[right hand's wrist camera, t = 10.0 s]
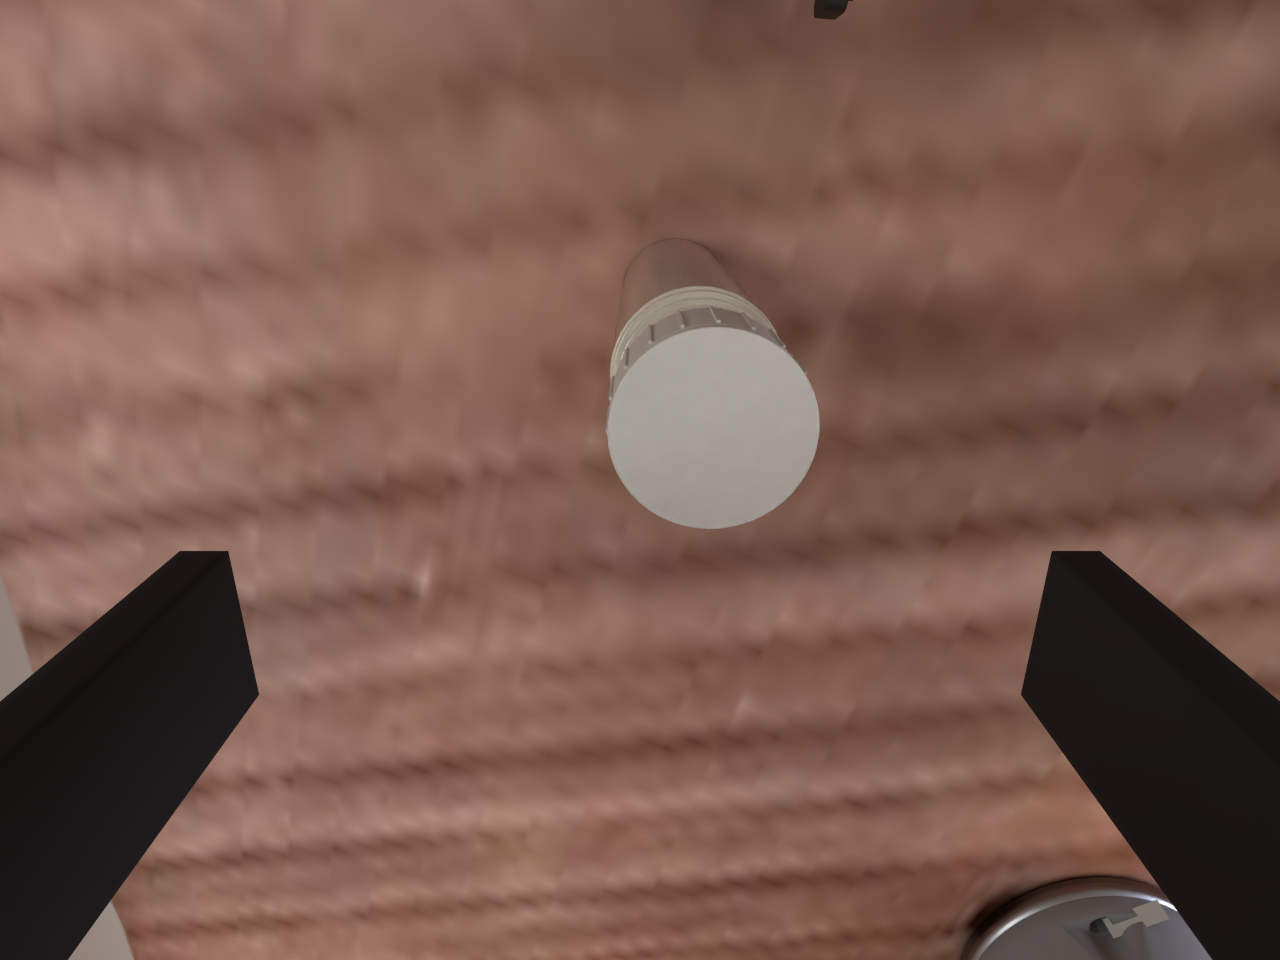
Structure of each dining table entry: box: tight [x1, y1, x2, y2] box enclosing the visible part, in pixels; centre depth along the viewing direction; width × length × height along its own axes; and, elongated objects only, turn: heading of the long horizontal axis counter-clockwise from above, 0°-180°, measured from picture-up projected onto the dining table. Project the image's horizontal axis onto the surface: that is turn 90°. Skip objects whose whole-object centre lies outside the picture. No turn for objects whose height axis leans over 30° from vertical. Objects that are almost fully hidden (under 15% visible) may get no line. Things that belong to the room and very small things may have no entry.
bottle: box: [610, 239, 778, 382], centre depth 27 cm, size 5×5×20 cm
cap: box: [605, 306, 819, 529], centre depth 18 cm, size 5×5×2 cm
